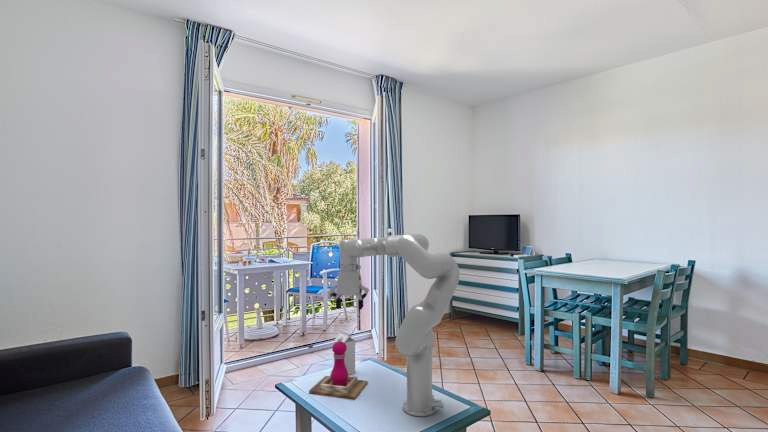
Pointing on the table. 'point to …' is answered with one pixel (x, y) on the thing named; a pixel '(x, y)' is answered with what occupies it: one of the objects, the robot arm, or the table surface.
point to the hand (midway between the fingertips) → (349, 308)
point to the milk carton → (348, 351)
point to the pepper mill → (339, 364)
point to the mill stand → (339, 388)
